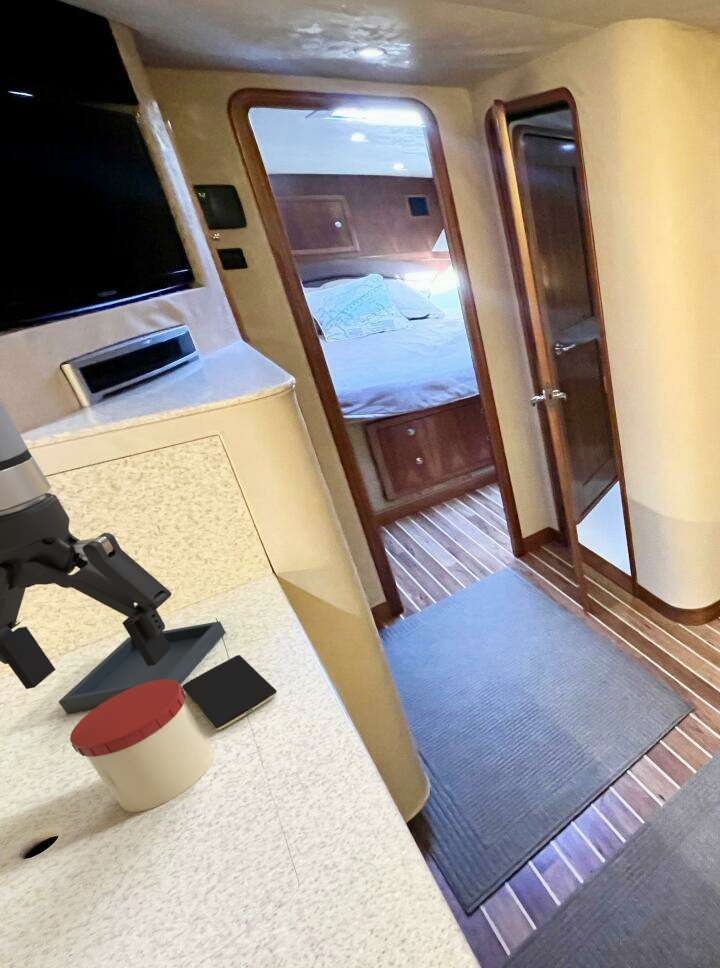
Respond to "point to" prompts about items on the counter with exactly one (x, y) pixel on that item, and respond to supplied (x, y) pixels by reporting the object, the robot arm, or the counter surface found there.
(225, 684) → the smartphone
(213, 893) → the counter surface
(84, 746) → the lid
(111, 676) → the tray
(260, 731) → the counter surface
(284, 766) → the counter surface
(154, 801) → the jar
